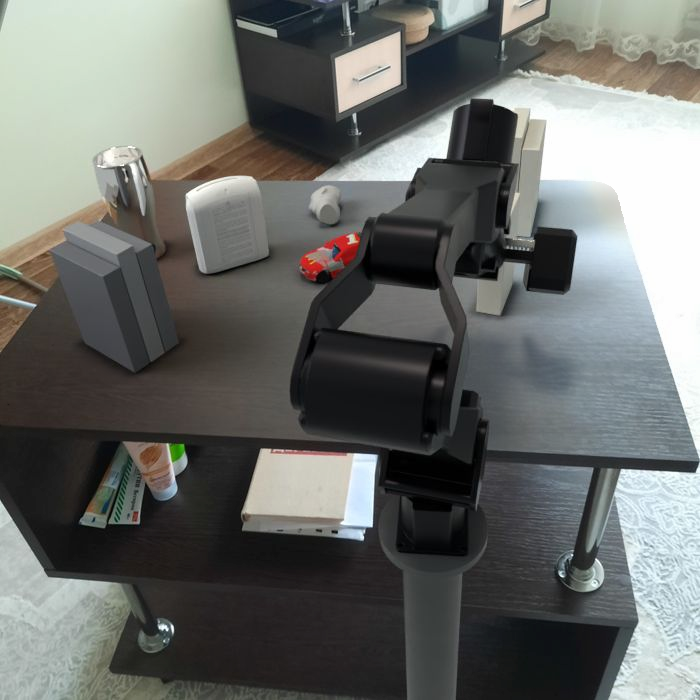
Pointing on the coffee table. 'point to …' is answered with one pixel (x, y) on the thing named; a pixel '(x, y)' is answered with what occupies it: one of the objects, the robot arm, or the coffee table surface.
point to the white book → (499, 275)
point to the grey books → (115, 293)
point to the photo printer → (227, 223)
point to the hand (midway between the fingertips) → (484, 271)
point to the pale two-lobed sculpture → (326, 204)
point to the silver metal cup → (129, 193)
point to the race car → (329, 258)
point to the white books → (528, 166)
